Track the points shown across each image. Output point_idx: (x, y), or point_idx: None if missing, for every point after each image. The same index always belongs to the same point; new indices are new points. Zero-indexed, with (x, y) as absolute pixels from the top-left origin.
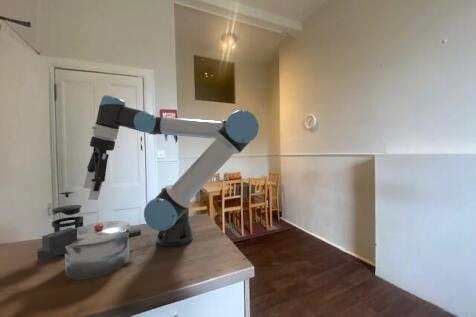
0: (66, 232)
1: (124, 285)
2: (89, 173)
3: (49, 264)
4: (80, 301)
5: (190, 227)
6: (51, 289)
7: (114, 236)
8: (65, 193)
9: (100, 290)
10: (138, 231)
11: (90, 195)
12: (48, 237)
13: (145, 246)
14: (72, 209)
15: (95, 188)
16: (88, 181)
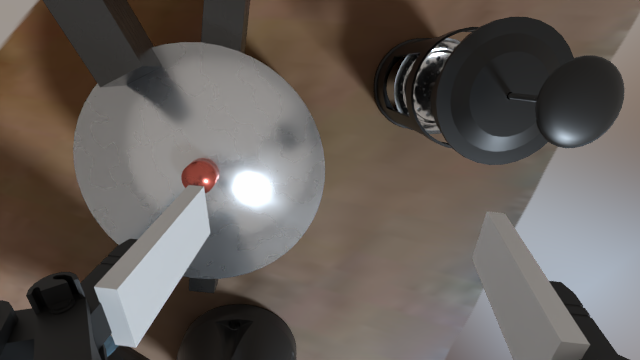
0: (72, 42)
1: (50, 163)
2: (543, 343)
3: (338, 26)
4: (40, 67)
5: None
6: (154, 17)
7: (88, 201)
8: (549, 89)
9: (63, 114)
10: (190, 283)
11: (173, 206)
12: None
13: (254, 271)
14: (436, 113)
15: (108, 259)
16: (503, 274)
